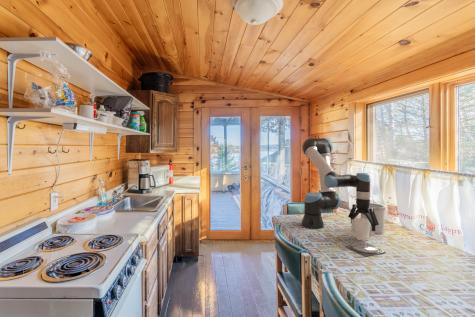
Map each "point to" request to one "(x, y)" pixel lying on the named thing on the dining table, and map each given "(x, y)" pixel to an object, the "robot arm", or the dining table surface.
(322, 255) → the dining table surface
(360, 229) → the cup
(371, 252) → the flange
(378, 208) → the utensil holder
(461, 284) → the dining table surface
